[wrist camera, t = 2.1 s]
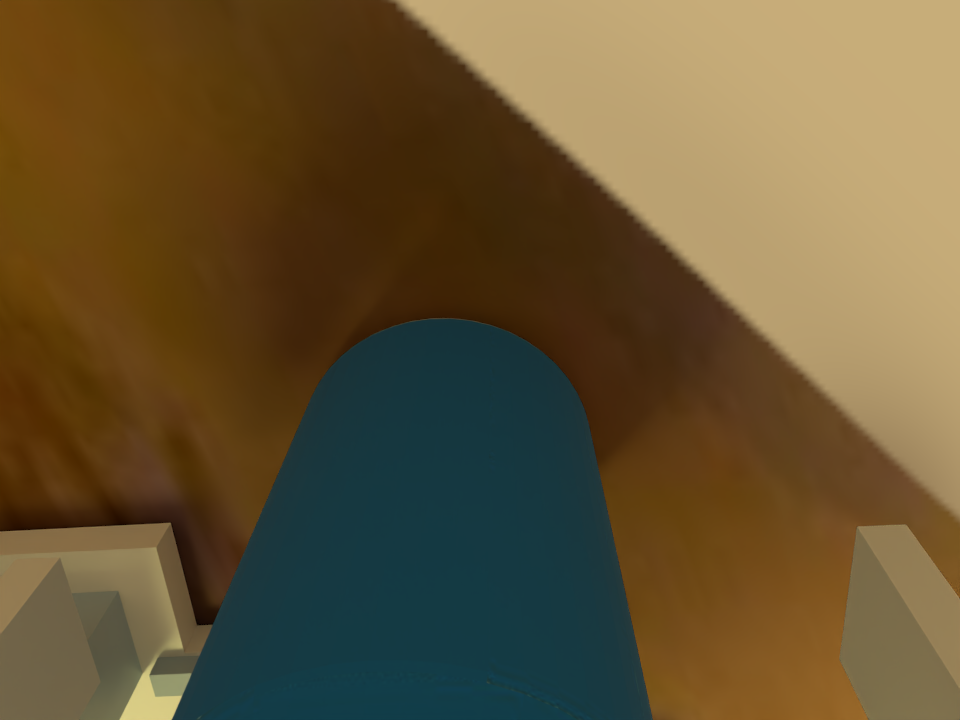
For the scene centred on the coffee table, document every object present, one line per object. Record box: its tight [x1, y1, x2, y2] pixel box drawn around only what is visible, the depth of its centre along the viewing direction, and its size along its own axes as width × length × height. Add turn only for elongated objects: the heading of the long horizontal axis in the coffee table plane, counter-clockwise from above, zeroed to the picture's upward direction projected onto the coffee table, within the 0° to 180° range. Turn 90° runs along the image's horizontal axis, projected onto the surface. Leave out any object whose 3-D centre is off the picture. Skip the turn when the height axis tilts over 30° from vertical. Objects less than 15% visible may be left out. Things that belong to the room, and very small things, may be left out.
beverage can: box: [172, 318, 653, 720], centre depth 14 cm, size 6×6×12 cm
